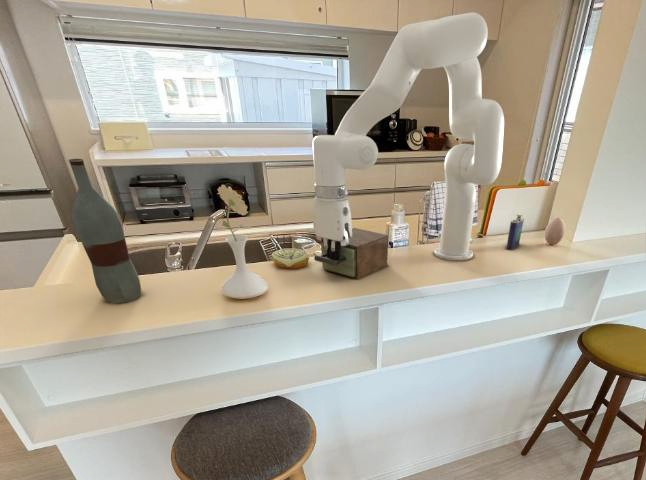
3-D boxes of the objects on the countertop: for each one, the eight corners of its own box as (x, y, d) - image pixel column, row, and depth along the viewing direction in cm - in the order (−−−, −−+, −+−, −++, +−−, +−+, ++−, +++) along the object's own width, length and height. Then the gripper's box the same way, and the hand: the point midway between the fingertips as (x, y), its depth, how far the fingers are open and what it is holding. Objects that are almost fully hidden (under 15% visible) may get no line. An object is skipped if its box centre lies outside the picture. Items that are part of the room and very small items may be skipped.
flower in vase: (275, 297, 105) (261, 189, 90) (229, 306, 99) (207, 193, 85) (258, 281, 114) (243, 180, 100) (215, 288, 108) (193, 183, 94)
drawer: (340, 282, 112) (339, 255, 108) (309, 273, 117) (307, 246, 113) (381, 264, 125) (381, 239, 121) (351, 256, 130) (351, 232, 126)
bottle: (107, 291, 105) (57, 156, 88) (147, 288, 107) (106, 156, 90) (97, 306, 98) (41, 162, 81) (140, 302, 100) (94, 162, 83)
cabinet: (357, 279, 117) (357, 246, 111) (323, 269, 122) (321, 237, 117) (387, 265, 126) (388, 235, 121) (354, 257, 132) (354, 227, 127)
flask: (513, 242, 150) (519, 211, 144) (521, 244, 149) (527, 212, 143) (504, 249, 144) (510, 216, 138) (512, 250, 143) (519, 217, 136)
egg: (542, 241, 153) (548, 214, 148) (561, 243, 152) (568, 216, 147) (541, 245, 148) (548, 218, 143) (561, 248, 147) (568, 220, 141)
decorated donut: (291, 272, 119) (289, 259, 117) (265, 265, 124) (263, 252, 122) (316, 263, 127) (315, 251, 124) (290, 256, 131) (289, 244, 129)
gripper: (363, 194, 104) (363, 266, 115) (318, 186, 111) (322, 255, 121) (343, 198, 99) (345, 273, 109) (298, 190, 106) (304, 261, 116)
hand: (333, 264), depth 115 cm, fingers closed
